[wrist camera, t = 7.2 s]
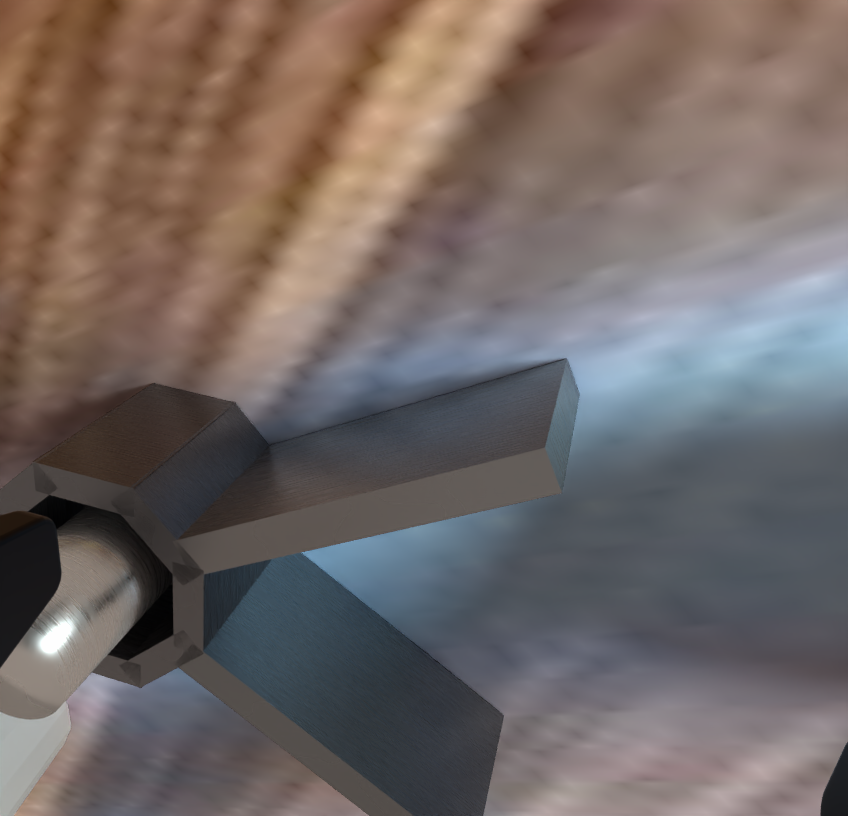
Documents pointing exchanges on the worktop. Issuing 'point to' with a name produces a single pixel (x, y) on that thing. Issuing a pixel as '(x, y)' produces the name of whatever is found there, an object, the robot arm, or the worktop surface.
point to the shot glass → (28, 754)
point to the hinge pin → (82, 612)
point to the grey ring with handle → (312, 566)
